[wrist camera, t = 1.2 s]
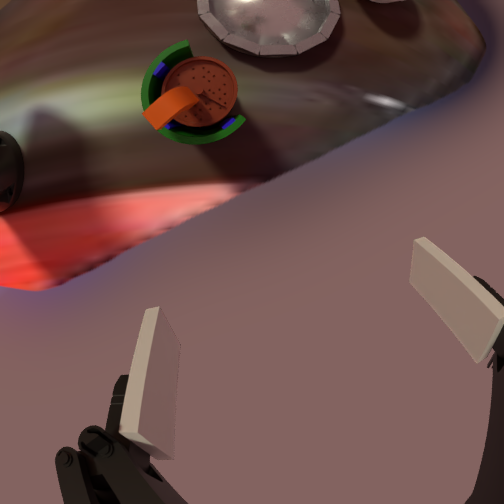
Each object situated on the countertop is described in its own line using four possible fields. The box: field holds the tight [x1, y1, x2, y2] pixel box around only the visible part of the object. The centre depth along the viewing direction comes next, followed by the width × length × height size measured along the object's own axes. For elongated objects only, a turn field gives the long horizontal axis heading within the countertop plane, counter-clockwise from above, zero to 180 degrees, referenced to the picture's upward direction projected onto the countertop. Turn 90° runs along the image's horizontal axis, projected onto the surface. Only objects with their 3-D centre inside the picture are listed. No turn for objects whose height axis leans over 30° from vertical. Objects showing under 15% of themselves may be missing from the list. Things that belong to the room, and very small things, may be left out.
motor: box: [141, 40, 246, 144], centre depth 26 cm, size 10×9×20 cm
